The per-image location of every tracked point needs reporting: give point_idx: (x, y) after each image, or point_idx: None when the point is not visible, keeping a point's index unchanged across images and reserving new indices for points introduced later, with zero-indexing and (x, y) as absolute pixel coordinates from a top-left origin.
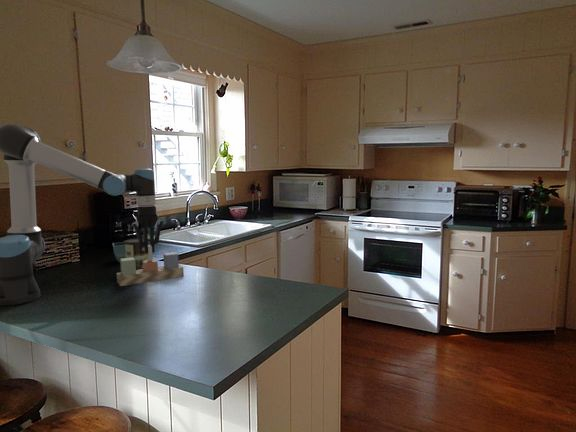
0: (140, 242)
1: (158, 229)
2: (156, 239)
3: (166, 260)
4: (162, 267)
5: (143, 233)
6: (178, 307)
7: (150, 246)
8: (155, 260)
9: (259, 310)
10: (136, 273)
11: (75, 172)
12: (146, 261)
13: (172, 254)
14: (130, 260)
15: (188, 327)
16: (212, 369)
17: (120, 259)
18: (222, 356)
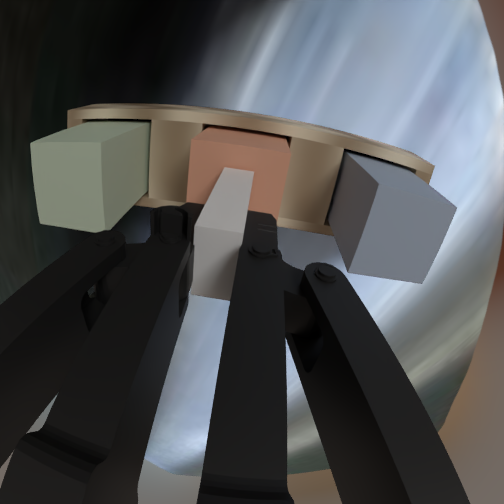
0: (89, 312)
1: (351, 498)
2: (300, 362)
3: (341, 242)
4: (329, 164)
5: (81, 380)
6: (203, 416)
7: (218, 295)
8: (277, 201)
9: (297, 456)
10: (149, 182)
11: None
12: (207, 184)
13: (392, 275)
14: (79, 228)
15: (188, 447)
16: (179, 471)
17: (32, 153)
18: (194, 470)
